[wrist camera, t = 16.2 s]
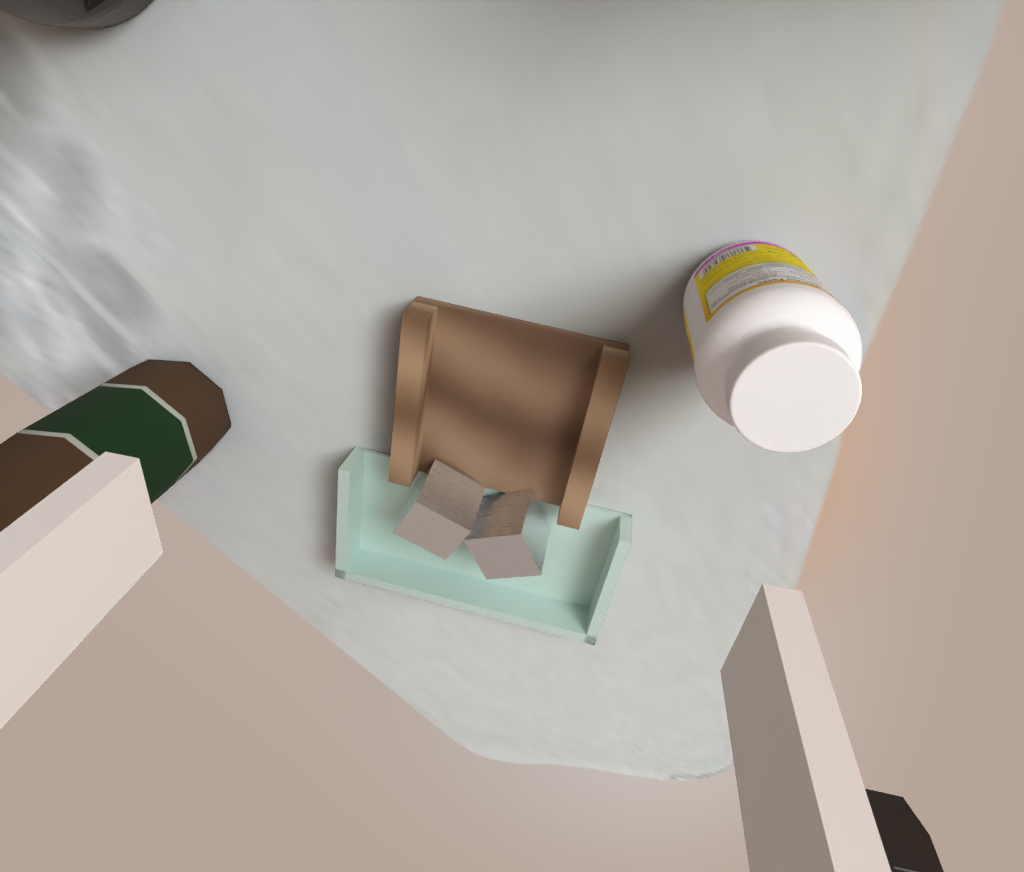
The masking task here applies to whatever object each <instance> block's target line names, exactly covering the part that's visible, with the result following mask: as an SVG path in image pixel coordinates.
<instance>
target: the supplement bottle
mask: <svg viewBox="0 0 1024 872" xmlns="http://www.w3.org/2000/svg"><path fill="white" fill-rule="evenodd" d="M683 316H684V322H685V328H686V332H687V337H688V342H689V346H690V351H691V356H692V361H693V367H694V373H695V377H696V381H697V385H698V388H699V391H700V393H701V395H702V397H703V399H704V400H705V402H706V404H707V405H708V406H709V407H710V409H711V410H712V411H713V412H714V413H715V414H716V415H717V416H719V417H720V418H721V419H723V420H724V421H726V422H727V423H729V424H730V425H732V426H735V427H736V429H737V430H738V431H739V433H740V434H741V435H742V436H743V437H744V438H745V439H746V440H748V441H749V442H751V443H752V444H754V445H756V446H758V447H760V448H763V449H766V450H770V451H774V452H800V451H805V450H809V449H813V448H815V447H818V446H821V445H823V444H825V443H827V442H828V441H830V440H832V439H833V438H835V437H836V436H837V435H839V434H840V433H841V432H842V431H843V430H844V429H845V428H846V427H847V426H848V425H849V423H850V422H851V421H852V419H853V418H854V416H855V414H856V412H857V410H858V407H859V404H860V401H861V395H862V385H861V379H860V376H859V370H860V367H861V361H862V343H861V337H860V334H859V331H858V328H857V326H856V324H855V322H854V320H853V318H852V317H851V315H850V314H849V313H848V311H847V310H846V309H845V308H844V307H843V306H842V304H841V303H840V302H839V301H838V300H837V299H836V298H835V297H834V296H833V295H832V294H831V293H830V292H829V291H828V290H827V288H826V287H825V286H824V285H823V284H822V283H821V282H820V281H819V280H818V279H817V278H816V277H815V275H814V274H813V273H812V272H811V271H810V270H809V269H808V268H807V267H806V266H805V264H804V263H803V262H802V261H801V260H800V259H799V258H798V257H797V256H796V255H794V254H793V253H792V252H791V251H789V250H788V249H786V248H784V247H783V246H780V245H778V244H775V243H772V242H767V241H760V240H748V241H741V242H737V243H733V244H730V245H728V246H725V247H723V248H721V249H719V250H718V251H716V252H714V253H713V254H712V255H710V256H709V257H708V258H707V259H705V260H704V261H703V262H702V263H701V264H700V265H699V267H698V268H697V269H696V270H695V272H694V273H693V275H692V276H691V278H690V280H689V282H688V284H687V287H686V290H685V294H684V299H683Z"/></svg>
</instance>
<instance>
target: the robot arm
mask: <svg viewBox="0 0 1024 872" xmlns="http://www.w3.org/2000/svg"><path fill="white" fill-rule="evenodd" d="M151 1H152V0H0V10H2V11H4V12H7V13H9V14H11V15H14V16H17V17H19V18H22V19H25V20H29V21H32V22H36V23H40V24H45V25H52V26H62V27H73V28H86V29H92V28H103V27H108V26H112V25H116V24H119V23H121V22H124V21H126V20H128V19H130V18H131V17H133V16H135V15H136V14H138V13H139V12H140V11H141V10H143V9H144V8H145V7H146V6H147V5H148V4H149V3H150V2H151ZM162 554H163V550H162V546H161V542H160V538H159V534H158V530H157V526H156V522H155V518H154V514H153V511H152V507H151V503H150V499H149V495H148V491H147V487H146V483H145V479H144V475H143V471H142V467H141V464H140V460H139V458H135V457H130V456H125V455H120V454H115V453H110V452H104V453H103V454H102V455H100V456H99V457H98V458H96V459H95V460H94V461H92V462H91V463H90V464H89V465H87V466H86V467H85V468H83V469H82V470H81V471H79V472H78V473H77V474H76V475H74V476H73V477H72V478H70V479H69V480H68V481H66V482H65V483H64V484H62V485H61V486H60V487H59V488H57V489H56V490H55V491H53V492H52V493H51V494H49V495H48V496H47V497H46V498H44V499H43V500H42V501H40V502H39V503H38V504H36V505H35V506H34V507H33V508H31V509H30V510H29V511H27V512H26V513H25V514H23V515H22V516H21V517H19V518H18V519H17V520H16V521H14V522H13V523H12V524H10V525H9V526H8V527H6V528H5V529H4V530H3V531H1V532H0V729H1V728H2V727H3V726H4V725H5V724H6V723H7V721H8V720H9V719H10V718H11V717H12V716H13V715H14V714H15V713H16V712H17V711H18V710H19V709H20V707H21V706H22V705H23V704H24V703H25V702H26V701H27V700H28V699H29V698H30V697H31V696H32V694H33V693H34V692H35V691H36V690H37V689H38V688H39V687H40V686H41V685H42V684H43V682H44V681H45V680H46V679H47V678H48V677H49V676H50V675H51V674H52V673H53V672H54V671H55V670H56V669H57V667H58V666H59V665H60V664H61V663H62V662H63V661H64V660H65V659H66V657H68V656H69V654H70V653H71V652H72V651H73V650H74V649H75V648H76V647H77V646H78V645H79V644H80V643H81V641H82V640H83V639H84V638H85V637H86V636H87V635H88V634H89V633H90V632H91V631H92V630H93V629H94V627H95V626H96V625H97V624H98V623H99V622H100V621H101V620H102V619H103V618H104V617H105V616H106V614H107V613H108V612H109V611H110V610H111V609H112V608H113V607H114V606H115V605H116V604H117V603H118V601H119V600H120V599H121V598H122V597H123V596H124V595H125V594H126V593H127V592H128V591H129V590H130V589H131V587H132V586H133V585H134V584H135V583H136V582H137V581H138V580H139V579H140V578H141V577H142V576H143V574H144V573H145V572H146V571H147V570H148V569H149V568H150V567H151V566H152V565H153V564H154V563H155V561H156V560H157V559H158V558H159V557H160V556H161V555H162ZM721 678H722V685H723V692H724V698H725V705H726V712H727V719H728V726H729V732H730V739H731V746H732V753H733V759H734V766H735V773H736V779H737V786H738V793H739V800H740V807H741V814H742V821H743V827H744V834H745V841H746V848H747V855H748V861H749V867H750V872H944V871H943V869H942V866H941V864H940V861H939V858H938V856H937V853H936V850H935V848H934V845H933V843H932V840H931V837H930V835H929V834H928V832H927V831H926V830H925V828H924V827H923V825H922V824H921V822H920V821H919V820H918V818H917V817H916V815H915V814H914V812H913V811H912V810H911V808H910V807H909V805H908V804H907V803H906V801H905V800H904V798H903V797H900V796H895V795H891V794H886V793H882V792H877V791H873V790H868V789H865V788H864V785H863V782H862V779H861V775H860V772H859V769H858V766H857V762H856V759H855V756H854V753H853V750H852V747H851V744H850V741H849V737H848V734H847V731H846V728H845V725H844V722H843V719H842V715H841V713H840V709H839V706H838V703H837V700H836V697H835V694H834V690H833V687H832V684H831V681H830V678H829V675H828V672H827V668H826V665H825V663H824V659H823V656H822V653H821V650H820V647H819V643H818V640H817V637H816V634H815V631H814V628H813V625H812V622H811V618H810V615H809V613H808V609H807V606H806V603H805V600H804V597H803V593H802V592H801V591H796V590H791V589H786V588H781V587H776V586H771V585H767V584H762V586H761V588H760V590H759V592H758V595H757V597H756V599H755V601H754V603H753V605H752V607H751V609H750V611H749V613H748V615H747V617H746V619H745V621H744V623H743V626H742V628H741V630H740V632H739V634H738V636H737V638H736V640H735V642H734V644H733V646H732V648H731V650H730V652H729V654H728V657H727V659H726V661H725V663H724V665H723V667H722V669H721Z"/></svg>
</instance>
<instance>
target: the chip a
mask: <svg viewBox="0 0 1024 872" xmlns="http://www.w3.org/2000/svg"><path fill="white" fill-rule="evenodd" d="M485 489H486V487H485V486H483V485H481V484H479V483H477V482H476V481H474V480H472V479H470V478H468V477H467V476H465V475H463V474H461V473H459V472H457V471H456V470H454V469H452V468H450V467H448V466H447V465H445V464H443V463H441V462H439V461H437V460H436V459H435V460H434V461H433V463H432V464H431V466H430V467H429V469H428V470H427V471H426V473H425V474H424V476H423V477H422V478H421V480H420V481H419V483H418V484H417V485H416V487H415V488H414V490H413V491H412V493H411V496H410V498H409V500H408V502H407V504H406V507H405V509H404V511H403V513H402V515H401V517H400V520H399V522H398V524H397V526H396V528H395V531H394V534H396V535H398V536H400V537H402V538H404V539H406V540H408V541H409V542H411V543H413V544H415V545H417V546H419V547H421V548H423V549H425V550H427V551H429V552H431V553H433V554H435V555H437V556H439V557H440V558H442V559H444V560H446V559H447V558H448V557H449V556H450V555H451V553H452V552H453V551H454V550H455V549H456V548H457V547H458V546H459V545H460V543H461V542H462V541H463V540H464V539H465V538H466V537H467V536H468V535H469V533H470V532H471V531H472V528H473V525H474V522H475V519H476V516H477V513H478V510H479V507H480V504H481V501H482V498H483V495H484V492H485Z"/></svg>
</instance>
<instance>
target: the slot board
mask: <svg viewBox="0 0 1024 872" xmlns="http://www.w3.org/2000/svg"><path fill="white" fill-rule="evenodd" d="M628 359H629V345H627V344H622V343H618V342H614V341H609V340H605V339H601V338H596V337H592V336H588V335H583V334H579V333H575V332H571V331H566V330H562V329H558V328H553V327H549V326H545V325H540V324H536V323H532V322H527V321H523V320H519V319H515V318H510V317H506V316H502V315H497V314H493V313H489V312H484V311H480V310H476V309H471V308H467V307H463V306H459V305H454V304H450V303H446V302H441V301H437V300H433V299H428V298H424V297H420V296H418V297H417V298H416V299H415V300H414V301H413V302H412V303H411V304H410V305H409V306H408V307H407V308H406V309H405V310H404V311H403V312H402V323H401V335H400V347H399V359H398V371H397V383H396V395H395V407H394V419H393V431H392V443H391V455H390V467H389V479H388V482H391V483H395V484H399V485H403V486H407V487H410V486H411V484H412V483H413V481H414V479H415V477H416V475H417V474H418V472H419V471H421V472H425V473H426V471H427V470H428V469H429V467H430V466H431V464H432V463H433V461H434V460H435V459H436V460H437V461H439V462H441V463H443V464H445V465H447V466H448V467H450V468H452V469H454V470H456V471H457V472H459V473H461V474H463V475H465V476H467V477H468V478H470V479H472V480H474V481H476V482H477V483H479V484H481V485H483V486H485V487H486V488H489V489H493V490H497V491H501V492H505V493H513V492H520V491H528V490H532V492H533V494H534V496H535V498H536V500H537V501H541V502H545V503H549V504H553V505H557V506H560V508H559V514H558V519H557V525H561V526H565V527H569V528H573V529H577V530H579V528H580V525H581V521H582V518H583V515H584V511H585V508H586V505H587V501H588V498H589V495H590V491H591V488H592V484H593V481H594V478H595V474H596V471H597V468H598V464H599V461H600V458H601V454H602V451H603V448H604V444H605V441H606V438H607V434H608V431H609V428H610V424H611V421H612V418H613V414H614V411H615V408H616V404H617V401H618V398H619V394H620V391H621V388H622V384H623V381H624V378H625V374H626V371H627V368H628Z"/></svg>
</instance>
